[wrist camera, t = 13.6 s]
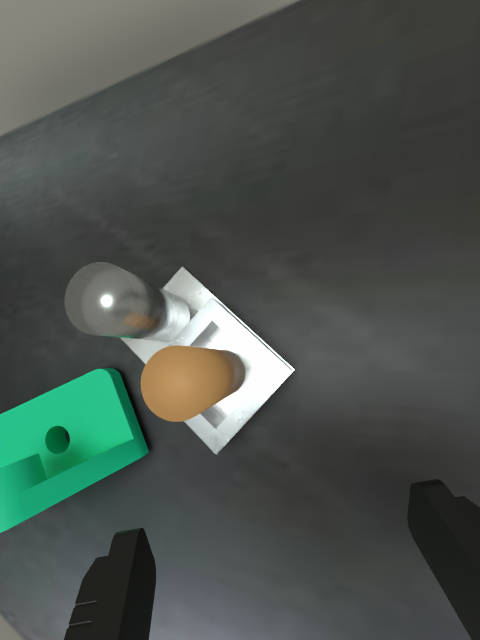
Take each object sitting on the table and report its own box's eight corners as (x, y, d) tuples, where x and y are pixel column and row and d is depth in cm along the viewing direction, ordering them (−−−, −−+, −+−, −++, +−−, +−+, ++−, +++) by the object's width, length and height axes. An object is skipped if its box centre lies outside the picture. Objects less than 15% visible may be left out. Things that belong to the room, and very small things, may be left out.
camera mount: (123, 363, 29) (32, 368, 19) (154, 448, 28) (75, 501, 18) (8, 417, 31) (-134, 448, 21) (33, 501, 29) (-104, 577, 19)
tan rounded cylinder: (206, 345, 27) (150, 338, 17) (249, 355, 27) (220, 353, 16) (196, 389, 27) (133, 411, 16) (240, 400, 27) (203, 430, 16)
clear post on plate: (294, 369, 27) (293, 378, 16) (226, 443, 27) (182, 498, 17) (184, 268, 29) (122, 220, 19) (122, 337, 29) (28, 328, 19)
